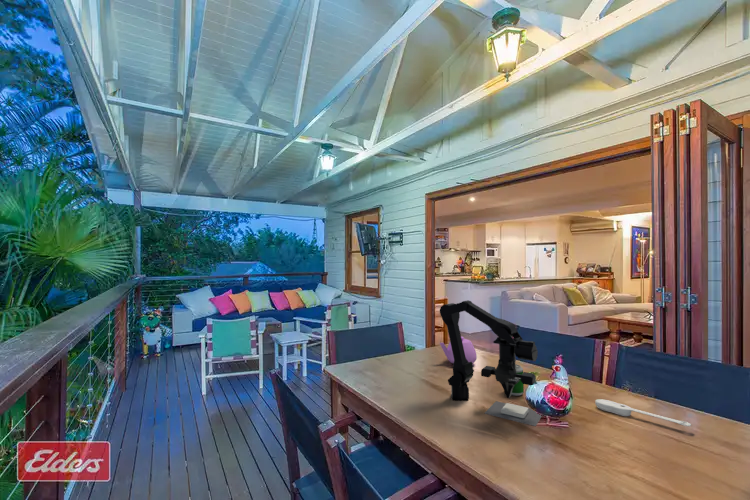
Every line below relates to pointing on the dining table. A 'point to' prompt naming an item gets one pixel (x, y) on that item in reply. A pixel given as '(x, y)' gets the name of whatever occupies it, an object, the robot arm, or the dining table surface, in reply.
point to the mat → (529, 419)
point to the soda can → (518, 387)
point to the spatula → (629, 410)
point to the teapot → (468, 350)
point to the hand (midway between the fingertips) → (508, 397)
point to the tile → (515, 410)
